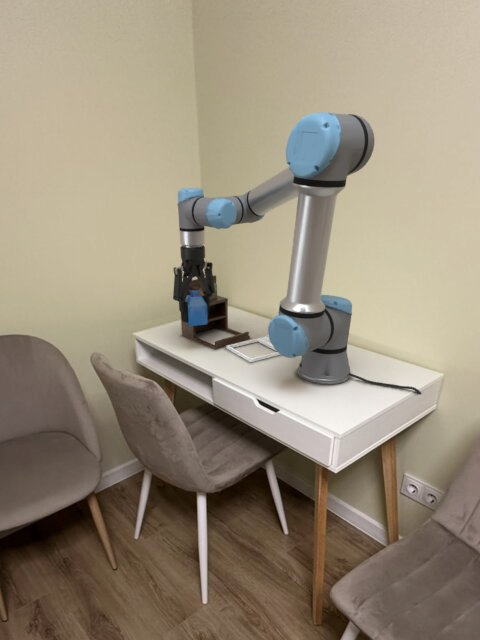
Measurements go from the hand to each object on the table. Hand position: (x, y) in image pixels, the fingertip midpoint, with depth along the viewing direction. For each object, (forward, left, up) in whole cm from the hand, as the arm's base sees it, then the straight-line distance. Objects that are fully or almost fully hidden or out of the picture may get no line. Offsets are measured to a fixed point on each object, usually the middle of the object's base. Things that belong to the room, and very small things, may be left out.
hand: (195, 318), depth 155 cm
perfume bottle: (0, 0, -2) cm, 2 cm away
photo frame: (-15, -16, -11) cm, 24 cm away
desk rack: (+5, -12, -11) cm, 17 cm away
